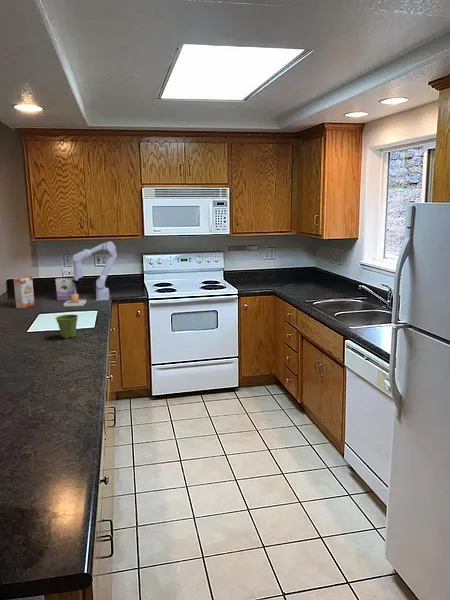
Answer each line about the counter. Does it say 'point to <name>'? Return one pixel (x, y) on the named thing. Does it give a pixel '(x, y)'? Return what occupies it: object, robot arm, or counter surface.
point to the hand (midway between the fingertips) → (79, 288)
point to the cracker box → (24, 292)
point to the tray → (69, 303)
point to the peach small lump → (75, 298)
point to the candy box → (65, 288)
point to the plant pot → (67, 325)
